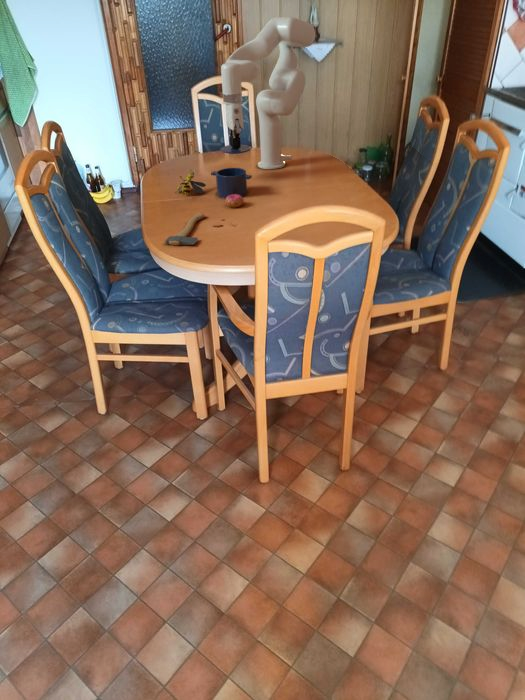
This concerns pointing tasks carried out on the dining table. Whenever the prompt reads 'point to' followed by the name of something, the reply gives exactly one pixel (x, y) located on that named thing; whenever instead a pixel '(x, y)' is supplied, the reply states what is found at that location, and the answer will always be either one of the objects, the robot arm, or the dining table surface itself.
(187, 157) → the dining table surface
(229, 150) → the pot lid
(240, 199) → the donut
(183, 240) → the hand axe
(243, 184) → the pot
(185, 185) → the toy
